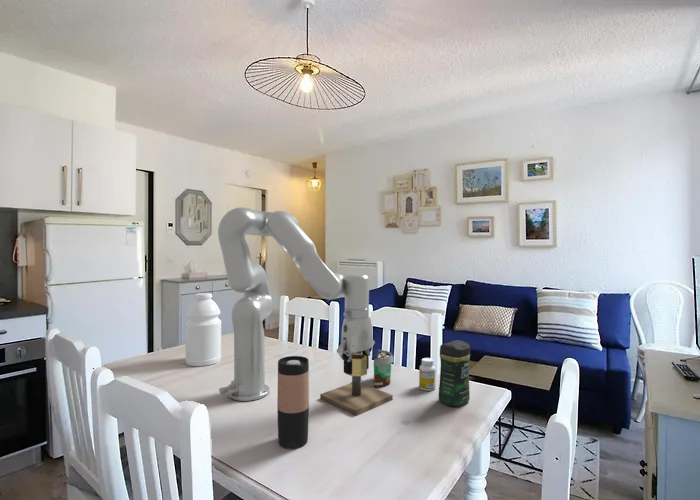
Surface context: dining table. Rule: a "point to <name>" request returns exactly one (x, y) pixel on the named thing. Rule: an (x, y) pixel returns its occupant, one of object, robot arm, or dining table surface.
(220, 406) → the dining table surface
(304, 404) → the travel mug
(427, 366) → the supplement bottle
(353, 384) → the post stand
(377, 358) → the food container
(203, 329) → the bottle
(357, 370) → the brass collar
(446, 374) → the coffee jar
